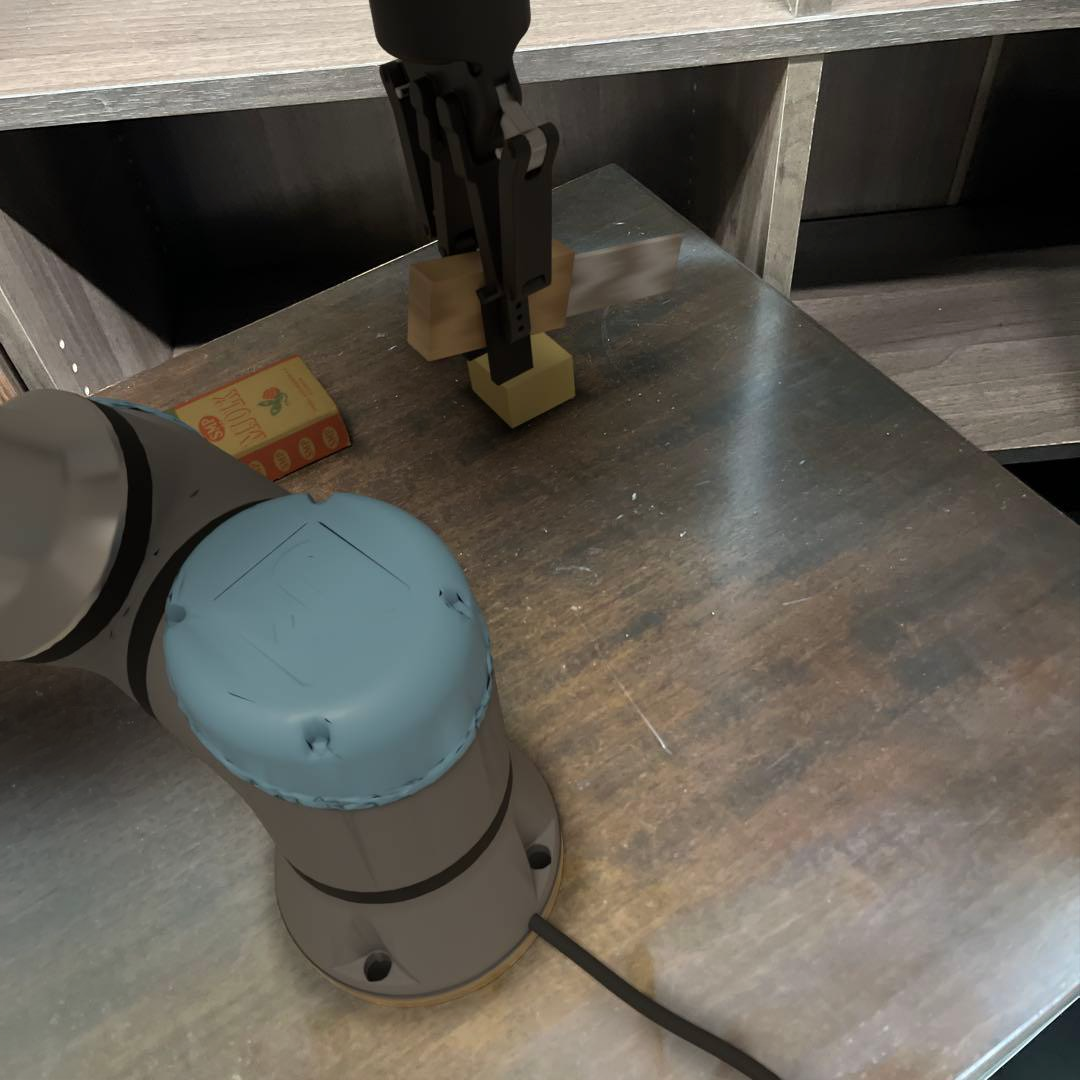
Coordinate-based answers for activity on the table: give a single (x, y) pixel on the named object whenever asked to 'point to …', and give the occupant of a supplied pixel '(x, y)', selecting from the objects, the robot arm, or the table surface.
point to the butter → (527, 383)
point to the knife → (577, 287)
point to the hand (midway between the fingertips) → (497, 361)
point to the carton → (269, 418)
